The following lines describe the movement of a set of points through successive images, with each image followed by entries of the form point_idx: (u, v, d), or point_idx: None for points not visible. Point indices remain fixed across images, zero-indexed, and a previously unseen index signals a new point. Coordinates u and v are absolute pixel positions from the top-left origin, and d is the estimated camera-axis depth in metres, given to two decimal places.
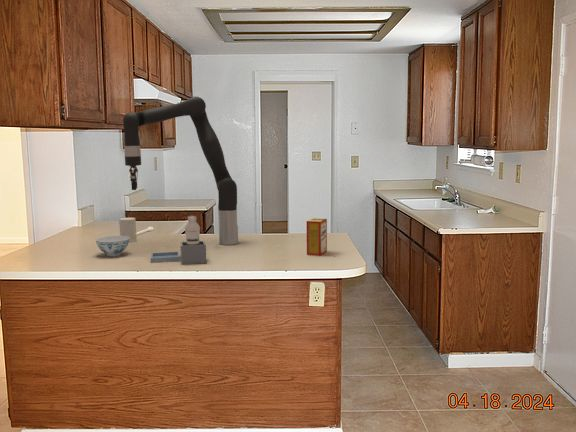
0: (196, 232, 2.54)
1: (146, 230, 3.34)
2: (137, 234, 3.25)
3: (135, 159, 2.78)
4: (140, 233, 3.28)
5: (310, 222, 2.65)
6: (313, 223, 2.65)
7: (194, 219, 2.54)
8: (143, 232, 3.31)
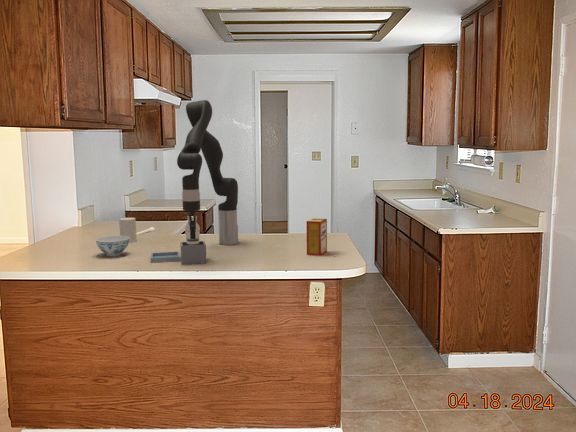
0: (196, 232, 2.54)
1: (147, 230, 3.33)
2: (137, 234, 3.24)
3: (194, 204, 2.51)
4: (140, 233, 3.27)
5: (310, 222, 2.65)
6: (313, 223, 2.65)
7: None
8: (144, 232, 3.30)
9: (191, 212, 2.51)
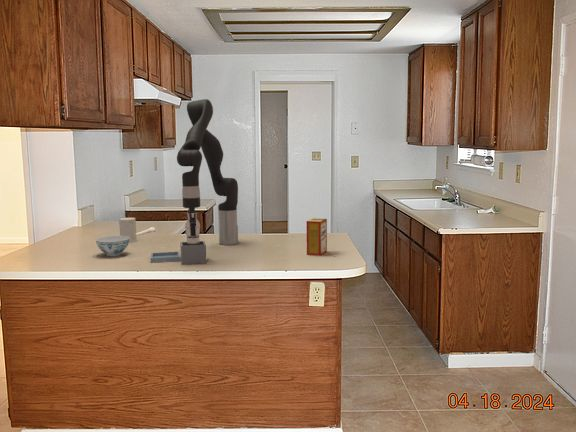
0: (196, 229, 2.54)
1: (147, 230, 3.32)
2: (137, 234, 3.24)
3: (194, 201, 2.51)
4: (140, 233, 3.27)
5: (310, 222, 2.65)
6: (313, 223, 2.65)
7: None
8: (144, 232, 3.30)
9: (191, 209, 2.51)
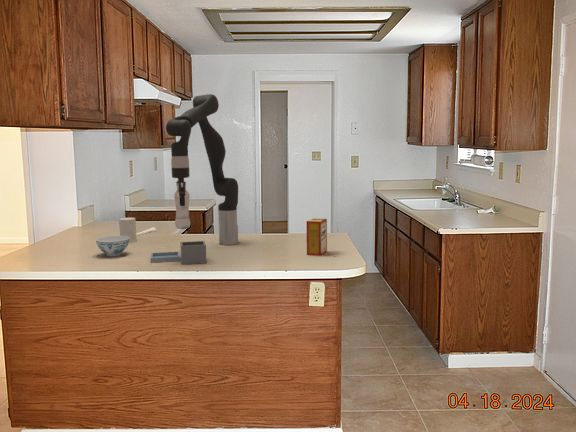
0: (185, 200, 2.53)
1: (148, 231, 3.32)
2: (137, 235, 3.23)
3: (184, 171, 2.51)
4: (141, 234, 3.26)
5: (310, 222, 2.65)
6: (313, 223, 2.65)
7: None
8: (144, 233, 3.29)
9: (180, 179, 2.50)
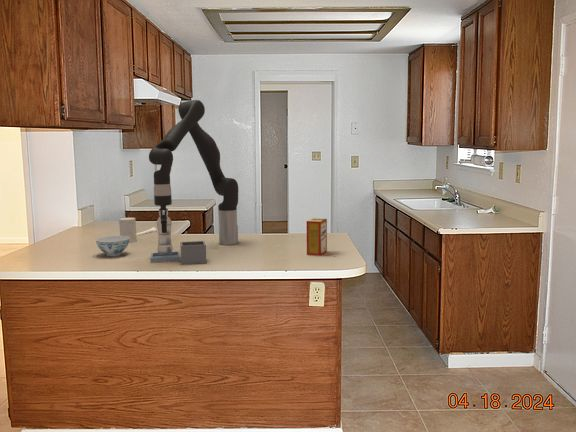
0: (167, 226, 2.59)
1: (148, 231, 3.31)
2: (137, 235, 3.23)
3: (165, 199, 2.56)
4: (141, 234, 3.25)
5: (310, 222, 2.65)
6: (313, 223, 2.65)
7: None
8: (144, 233, 3.28)
9: (162, 206, 2.56)
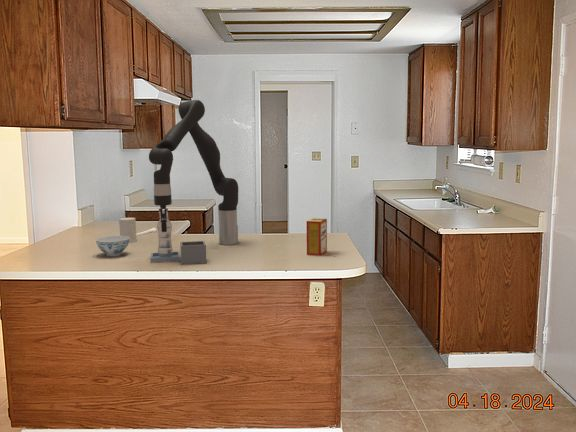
0: (167, 229, 2.59)
1: (148, 231, 3.31)
2: (137, 235, 3.22)
3: (165, 198, 2.56)
4: (141, 234, 3.25)
5: (310, 222, 2.65)
6: (313, 223, 2.65)
7: None
8: (144, 233, 3.28)
9: (162, 206, 2.56)
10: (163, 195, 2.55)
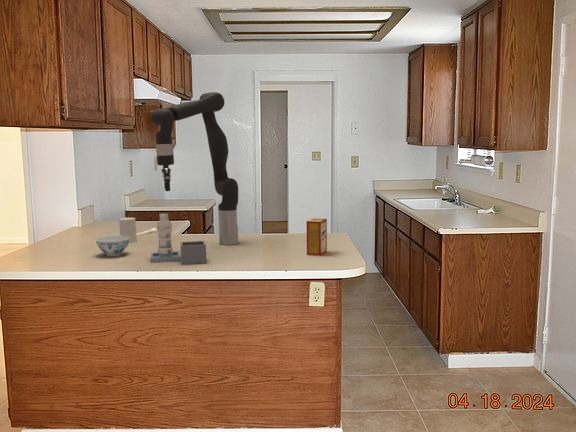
0: (167, 229, 2.59)
1: (148, 231, 3.30)
2: (137, 235, 3.22)
3: (168, 158, 2.61)
4: (141, 234, 3.25)
5: (310, 222, 2.65)
6: (313, 223, 2.65)
7: (166, 216, 2.59)
8: (145, 233, 3.28)
9: (165, 166, 2.61)
10: (166, 155, 2.60)
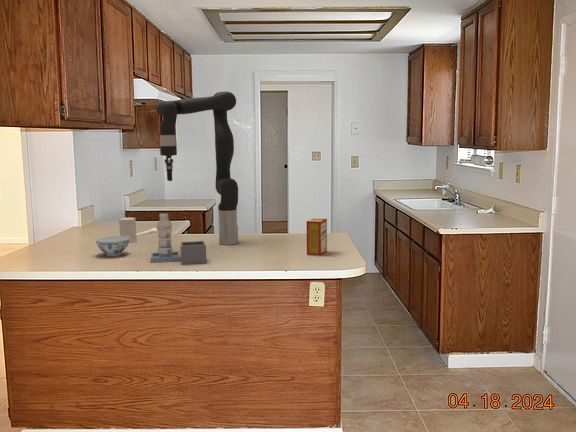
0: (167, 229, 2.59)
1: (148, 231, 3.30)
2: (137, 235, 3.22)
3: (171, 149, 2.68)
4: (141, 234, 3.25)
5: (310, 222, 2.65)
6: (313, 223, 2.65)
7: (166, 216, 2.59)
8: (145, 233, 3.27)
9: (168, 156, 2.68)
10: (169, 145, 2.67)
